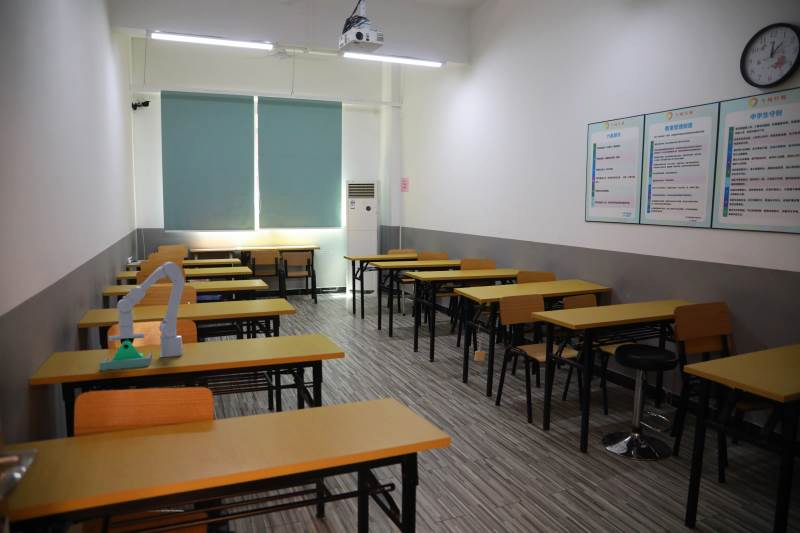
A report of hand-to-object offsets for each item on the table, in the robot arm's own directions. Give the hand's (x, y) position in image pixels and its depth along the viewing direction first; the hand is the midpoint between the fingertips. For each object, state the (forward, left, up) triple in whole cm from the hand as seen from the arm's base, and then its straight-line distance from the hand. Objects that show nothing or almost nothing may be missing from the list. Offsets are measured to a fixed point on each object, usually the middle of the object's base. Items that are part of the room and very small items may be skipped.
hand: (128, 354), depth 245 cm
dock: (0, +5, -3) cm, 6 cm away
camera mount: (0, +2, -3) cm, 4 cm away
